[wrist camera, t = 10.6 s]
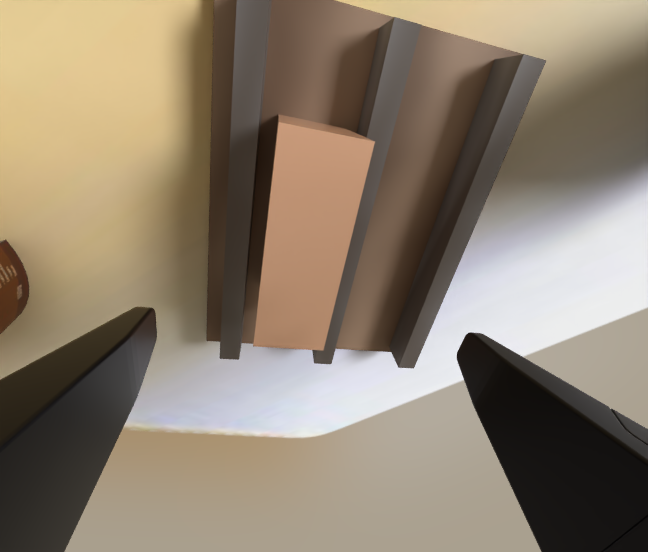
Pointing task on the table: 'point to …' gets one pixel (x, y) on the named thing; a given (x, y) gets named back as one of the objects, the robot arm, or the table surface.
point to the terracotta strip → (308, 230)
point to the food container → (11, 285)
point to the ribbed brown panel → (385, 165)
